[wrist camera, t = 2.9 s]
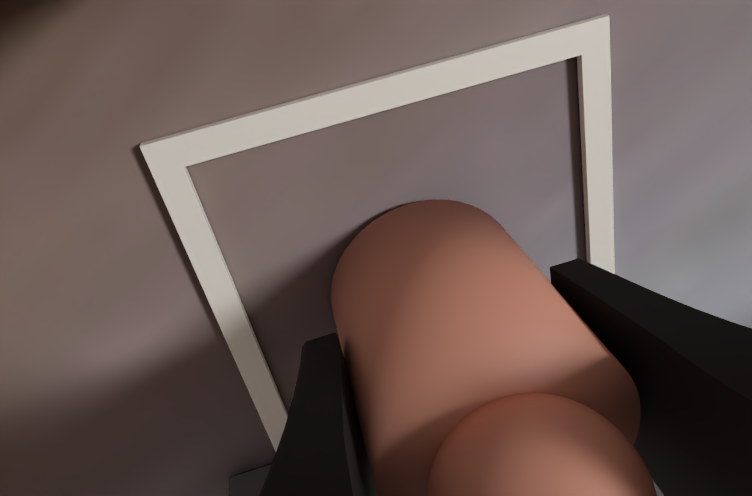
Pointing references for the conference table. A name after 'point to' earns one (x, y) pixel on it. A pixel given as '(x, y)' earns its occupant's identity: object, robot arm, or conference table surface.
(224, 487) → the conference table surface
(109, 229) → the conference table surface
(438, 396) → the pawn
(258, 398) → the game board
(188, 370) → the conference table surface
